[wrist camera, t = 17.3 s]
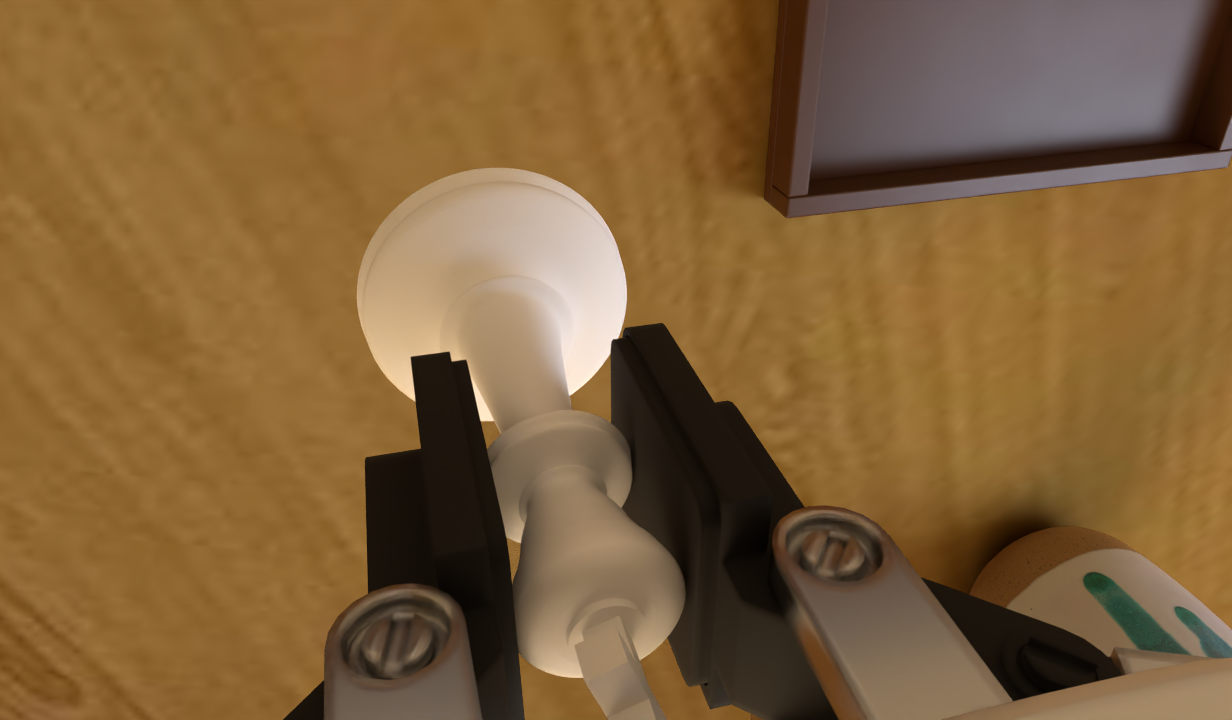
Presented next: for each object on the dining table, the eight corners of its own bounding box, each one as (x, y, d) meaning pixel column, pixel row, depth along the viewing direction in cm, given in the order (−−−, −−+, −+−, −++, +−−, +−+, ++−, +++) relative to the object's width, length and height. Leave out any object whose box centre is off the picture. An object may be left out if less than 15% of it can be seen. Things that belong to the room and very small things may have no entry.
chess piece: (568, 121, 15) (852, 481, 7) (653, 342, 18) (928, 791, 9) (303, 238, 15) (250, 760, 6) (432, 443, 17) (512, 990, 9)
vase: (984, 489, 45) (1333, 845, 29) (1133, 496, 48) (1515, 816, 32) (904, 635, 49) (1166, 1011, 34) (1045, 632, 53) (1341, 970, 37)
